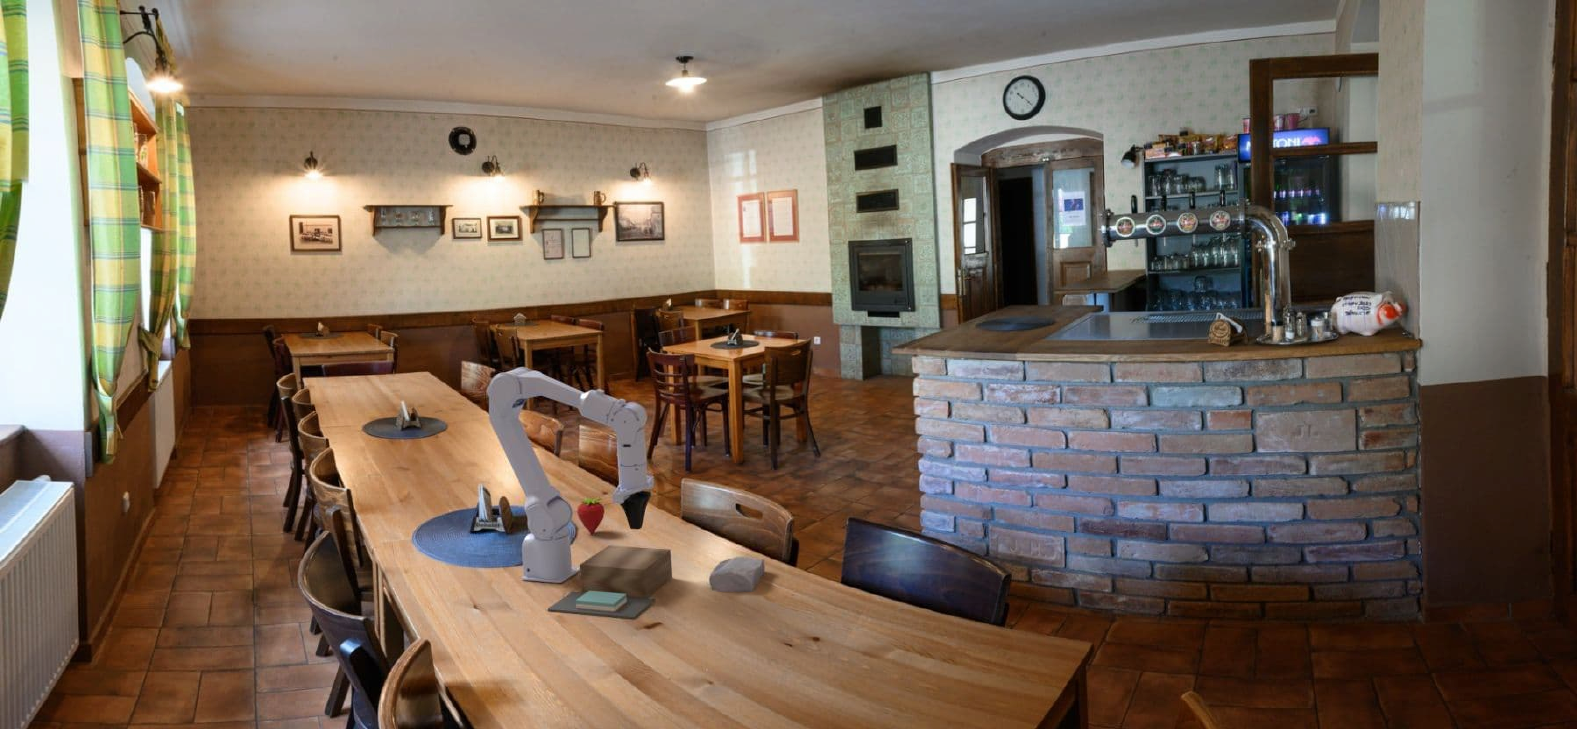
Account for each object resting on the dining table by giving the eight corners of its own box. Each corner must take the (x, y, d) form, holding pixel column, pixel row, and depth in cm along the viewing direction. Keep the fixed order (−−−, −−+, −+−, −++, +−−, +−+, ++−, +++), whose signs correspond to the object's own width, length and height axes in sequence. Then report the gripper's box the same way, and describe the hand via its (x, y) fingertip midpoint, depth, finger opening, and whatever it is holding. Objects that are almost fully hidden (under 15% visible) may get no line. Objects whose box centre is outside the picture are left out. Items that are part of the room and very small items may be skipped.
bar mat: (547, 610, 172) (547, 608, 172) (572, 593, 181) (572, 591, 181) (633, 619, 167) (633, 617, 167) (655, 600, 176) (655, 598, 175)
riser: (581, 594, 180) (579, 564, 180) (611, 572, 192) (609, 545, 191) (645, 599, 176) (644, 569, 175) (672, 577, 187) (670, 549, 187)
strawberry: (594, 527, 225) (591, 487, 223) (611, 533, 219) (608, 492, 218) (573, 532, 220) (570, 492, 219) (590, 539, 215) (587, 497, 214)
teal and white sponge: (589, 590, 177) (589, 598, 177) (575, 600, 172) (576, 607, 172) (626, 593, 174) (626, 601, 175) (613, 603, 170) (614, 611, 170)
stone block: (708, 600, 180) (756, 592, 178) (702, 577, 180) (751, 568, 178) (723, 580, 191) (768, 573, 189) (718, 558, 191) (763, 550, 189)
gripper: (633, 472, 178) (637, 540, 179) (665, 455, 191) (668, 518, 193) (601, 471, 180) (605, 538, 181) (635, 454, 193) (638, 517, 195)
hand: (636, 528), depth 187 cm, fingers closed
